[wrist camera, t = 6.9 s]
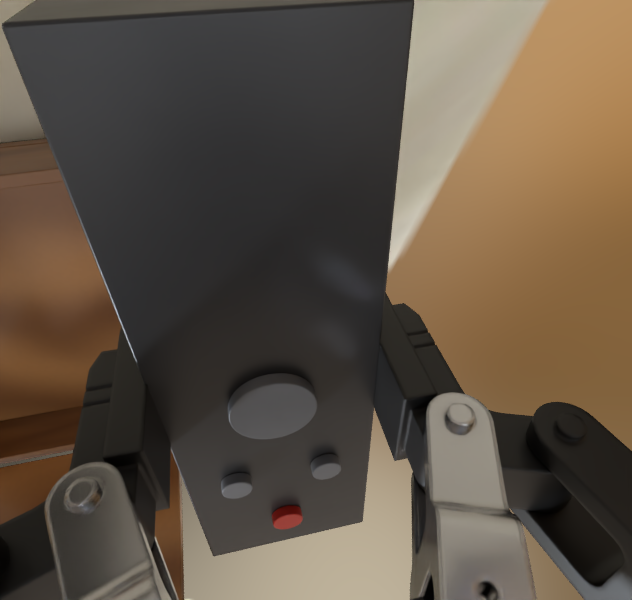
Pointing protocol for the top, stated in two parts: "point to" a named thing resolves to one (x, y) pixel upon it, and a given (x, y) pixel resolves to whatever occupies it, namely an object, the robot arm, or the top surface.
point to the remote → (237, 228)
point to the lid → (40, 476)
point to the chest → (45, 306)
